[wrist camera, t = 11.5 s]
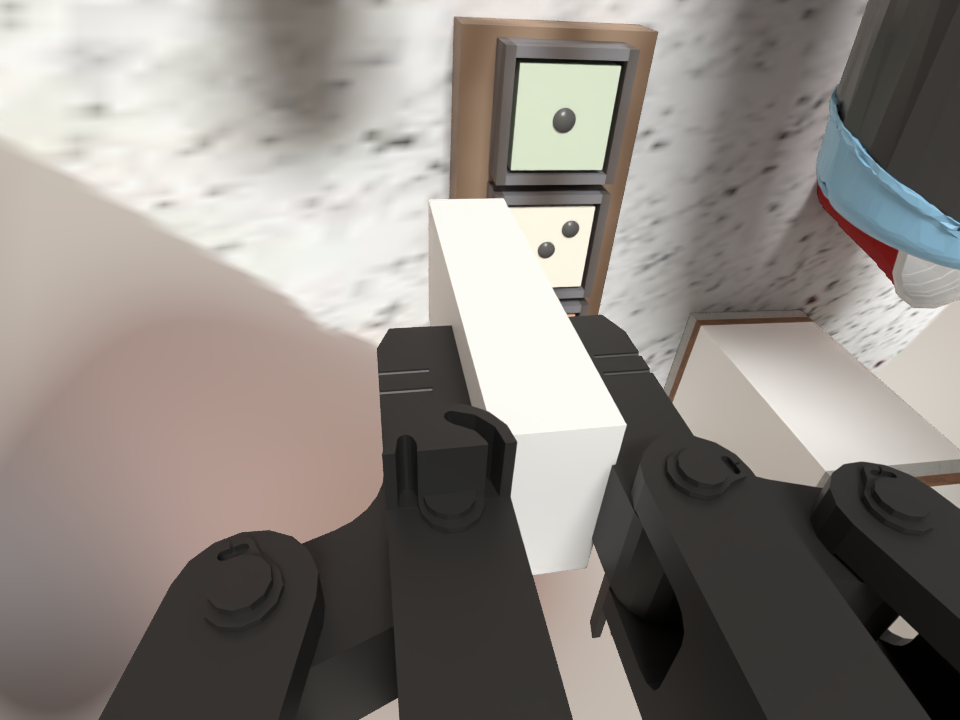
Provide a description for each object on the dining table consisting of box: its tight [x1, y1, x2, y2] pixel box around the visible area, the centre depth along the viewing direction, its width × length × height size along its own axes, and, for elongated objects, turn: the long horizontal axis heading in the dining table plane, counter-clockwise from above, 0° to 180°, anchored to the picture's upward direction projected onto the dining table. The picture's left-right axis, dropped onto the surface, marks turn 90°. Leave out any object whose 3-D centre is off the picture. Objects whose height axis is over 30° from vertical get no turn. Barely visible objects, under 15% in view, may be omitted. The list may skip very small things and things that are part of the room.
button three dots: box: [507, 204, 595, 287], centre depth 40 cm, size 6×6×2 cm
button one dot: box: [507, 58, 621, 170], centre depth 35 cm, size 6×6×2 cm
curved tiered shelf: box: [664, 310, 960, 639], centre depth 43 cm, size 11×11×35 cm
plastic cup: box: [817, 184, 960, 308], centre depth 42 cm, size 11×11×12 cm
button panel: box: [450, 17, 658, 316], centre depth 42 cm, size 12×26×6 cm, turn 177°
